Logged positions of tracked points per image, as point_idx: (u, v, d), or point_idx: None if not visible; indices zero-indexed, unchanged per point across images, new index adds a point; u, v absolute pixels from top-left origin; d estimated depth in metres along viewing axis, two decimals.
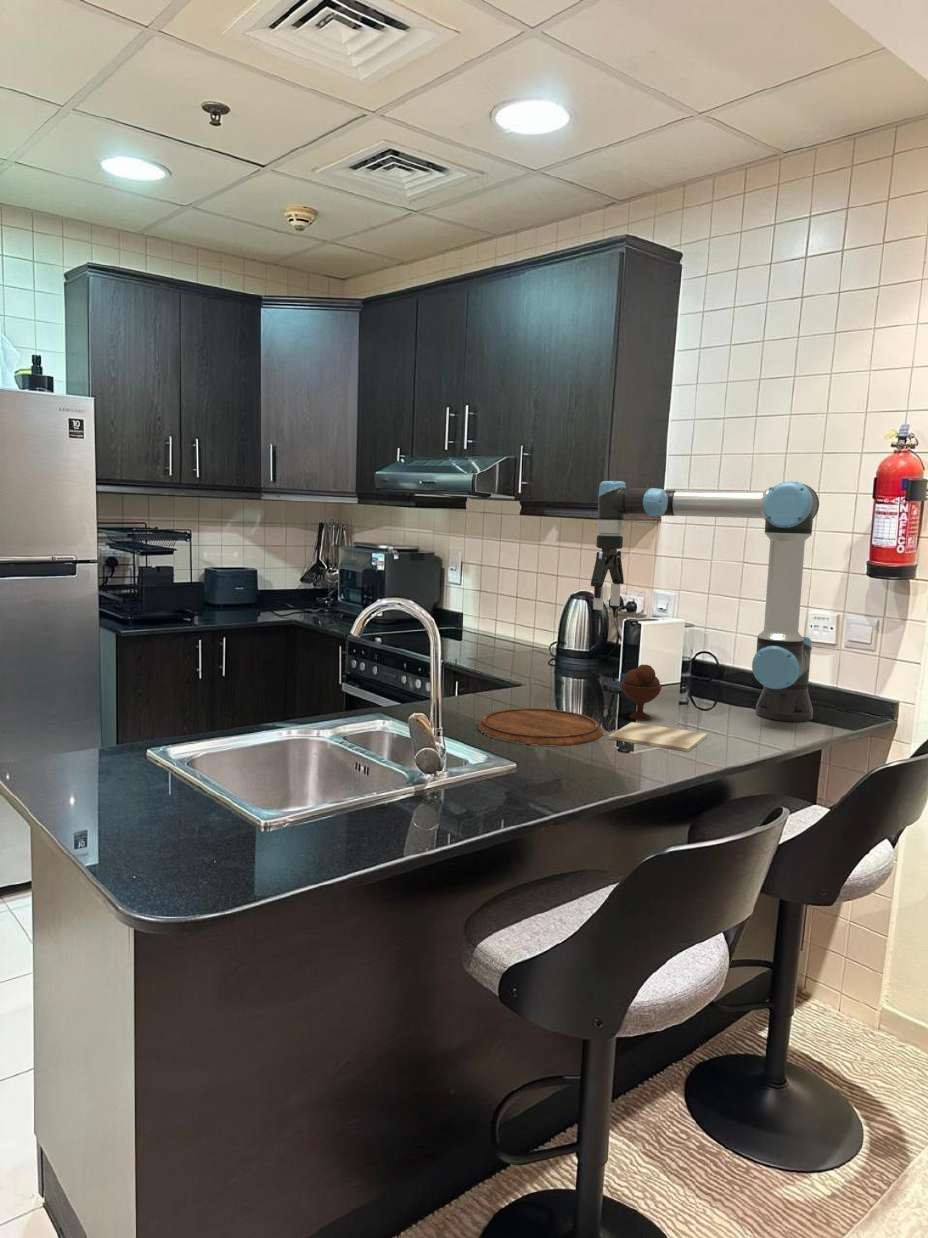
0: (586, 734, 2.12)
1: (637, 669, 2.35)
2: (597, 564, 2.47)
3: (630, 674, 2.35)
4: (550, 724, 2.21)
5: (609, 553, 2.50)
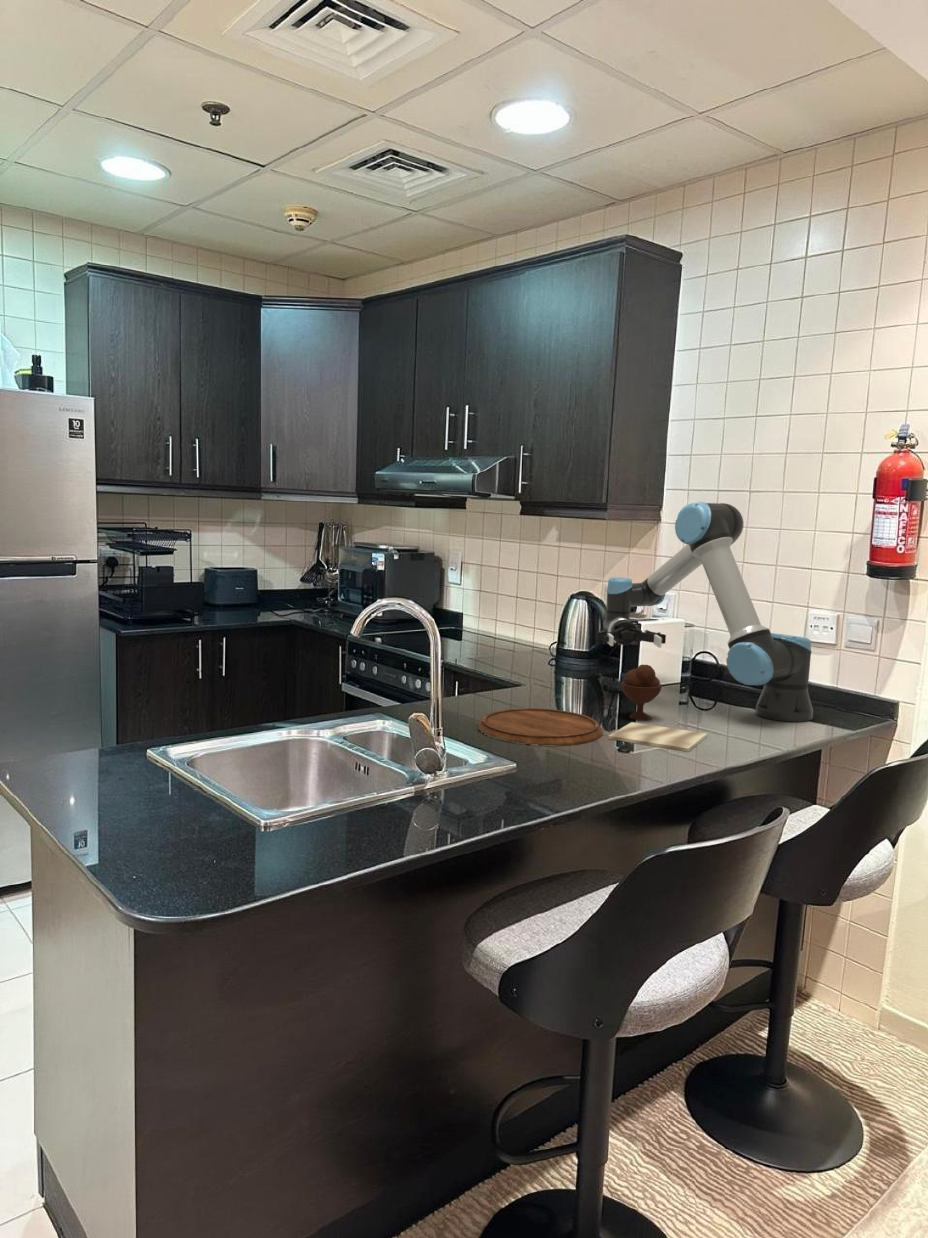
0: (586, 734, 2.12)
1: (637, 669, 2.35)
2: None
3: (630, 674, 2.35)
4: (550, 724, 2.21)
5: None
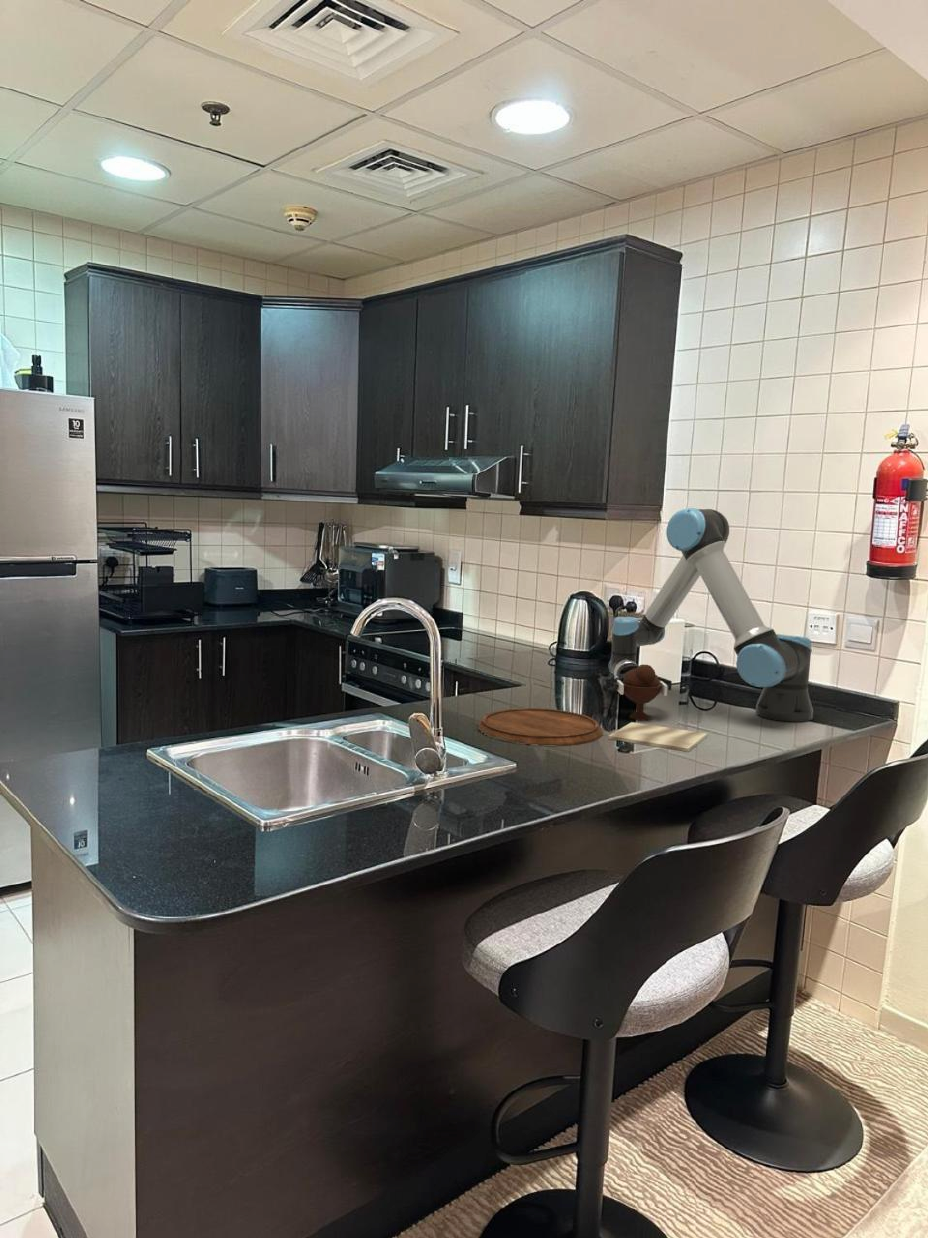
0: (586, 734, 2.12)
1: (637, 669, 2.35)
2: None
3: (630, 674, 2.35)
4: (550, 724, 2.21)
5: None
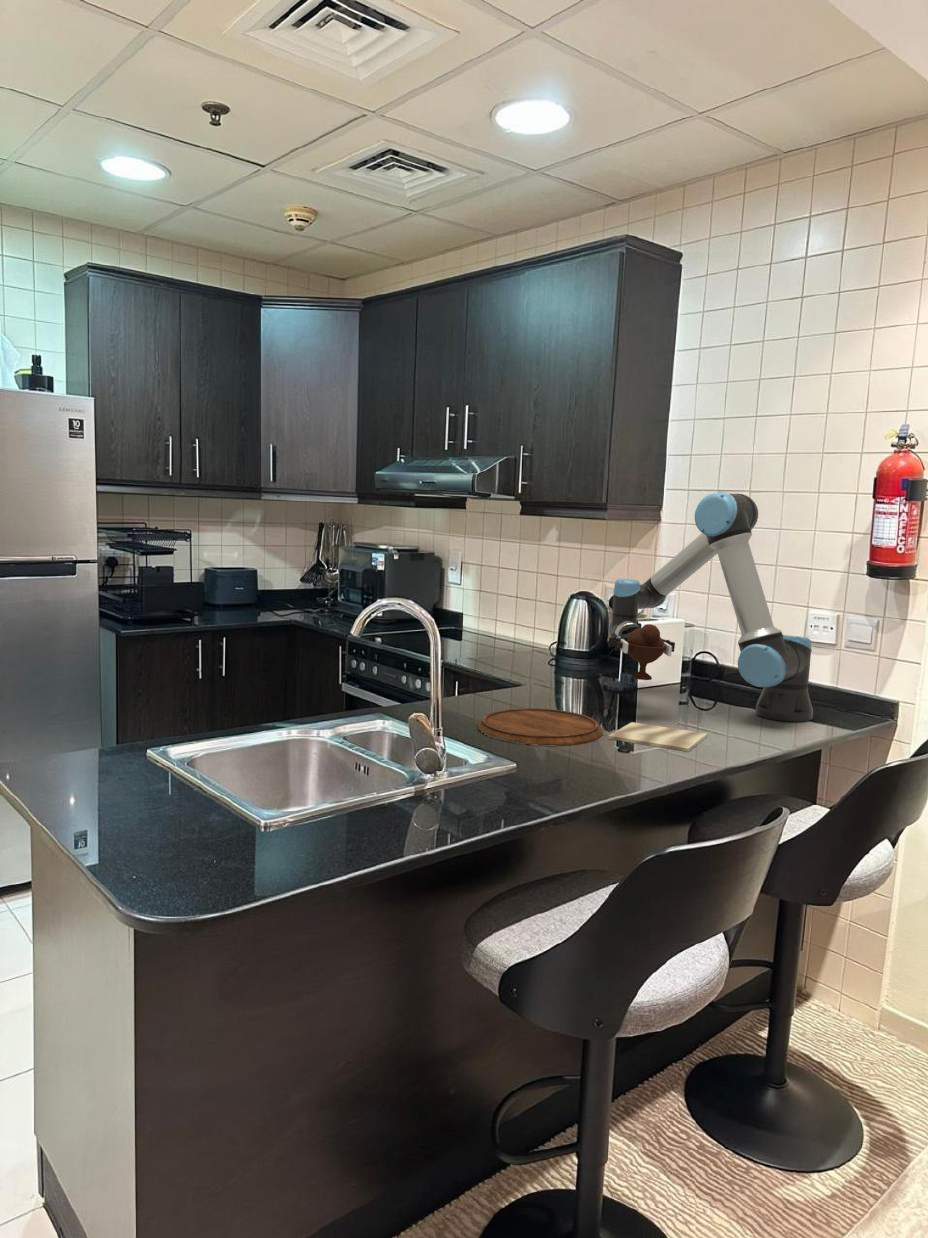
0: (586, 734, 2.12)
1: (642, 628, 2.33)
2: None
3: (635, 633, 2.33)
4: (550, 724, 2.21)
5: (625, 634, 2.48)
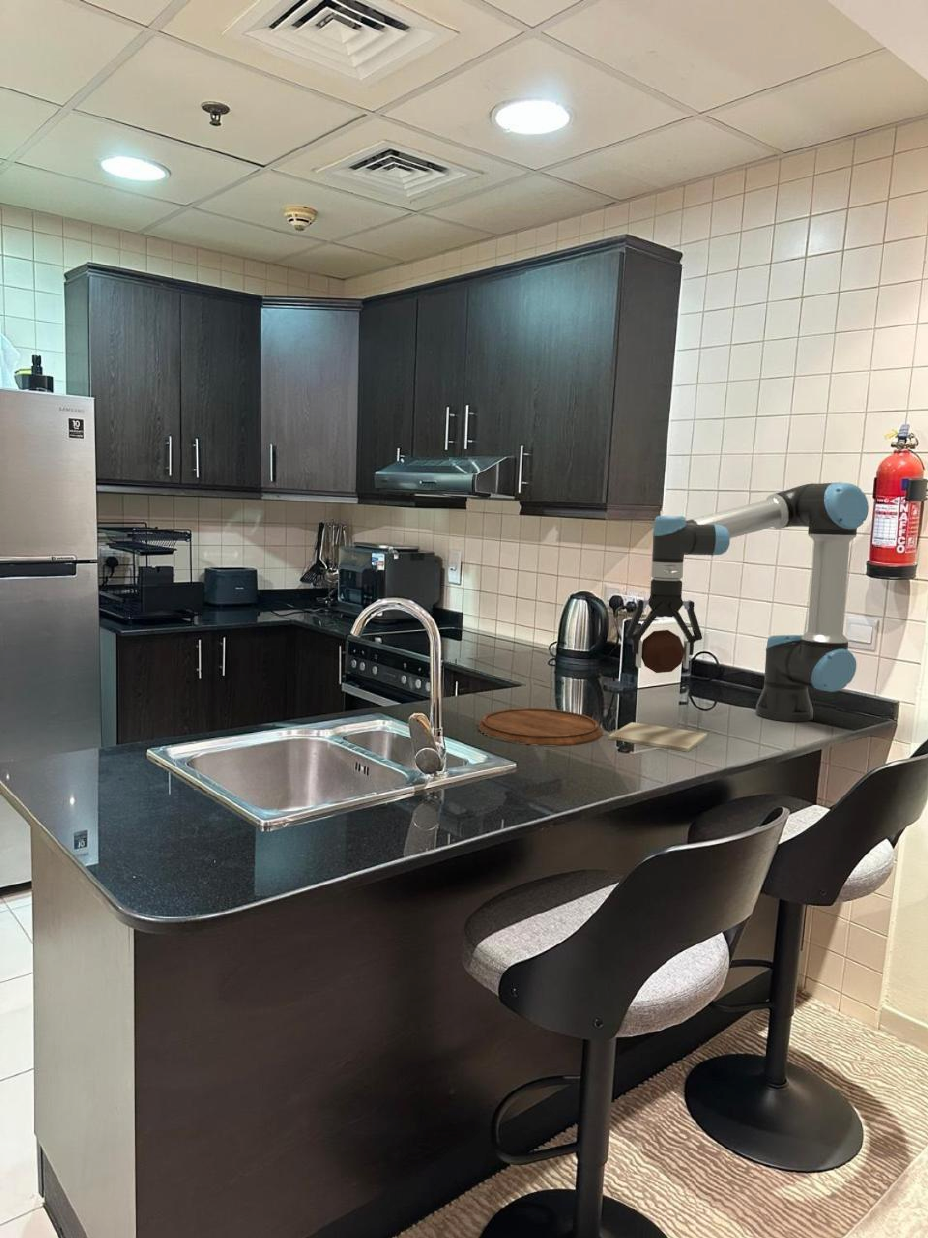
0: (586, 734, 2.12)
1: None
2: None
3: None
4: (550, 724, 2.21)
5: None
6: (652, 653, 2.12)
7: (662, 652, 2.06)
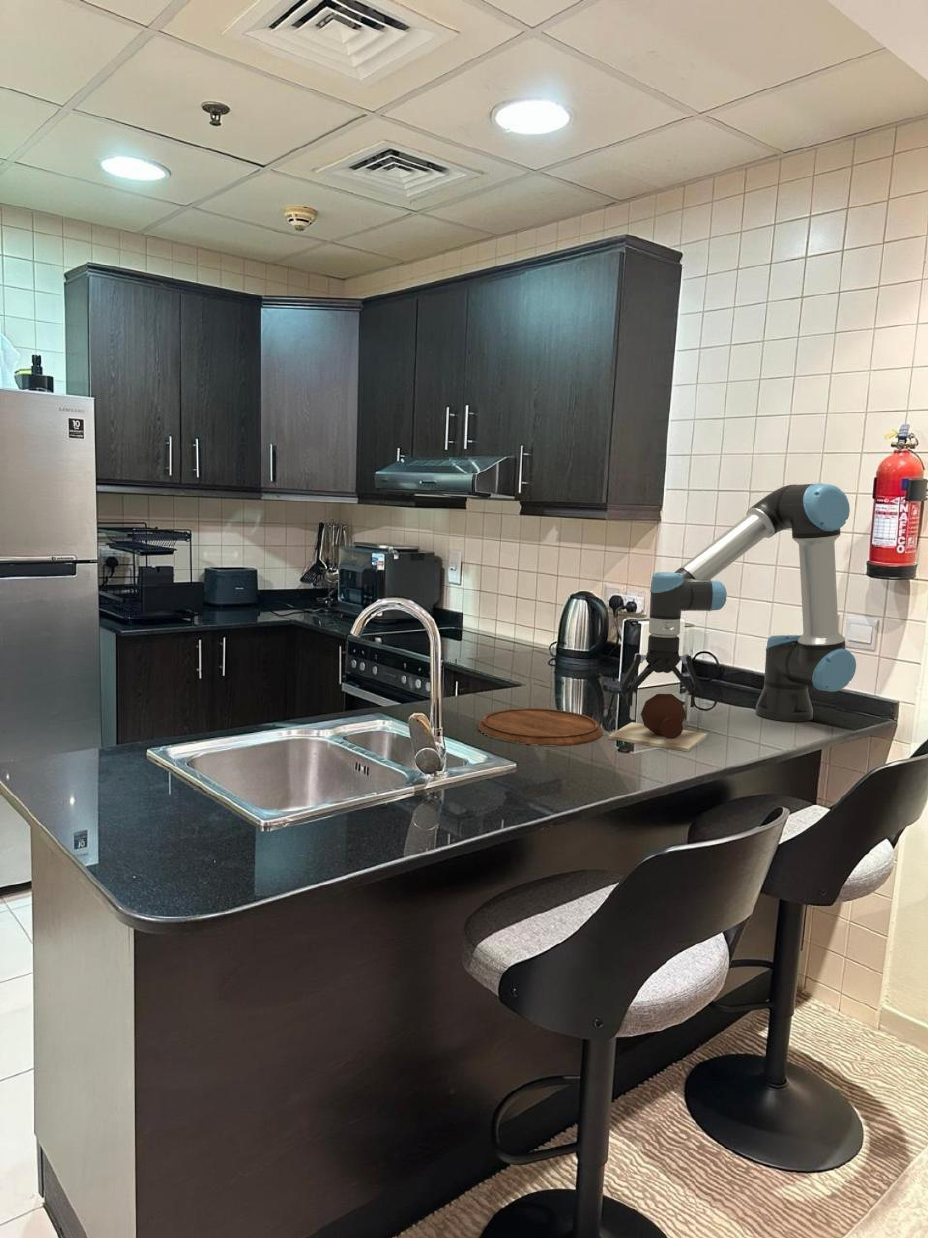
0: (586, 734, 2.12)
1: None
2: (693, 669, 2.15)
3: None
4: (550, 724, 2.21)
5: None
6: (653, 717, 2.13)
7: (664, 722, 2.07)
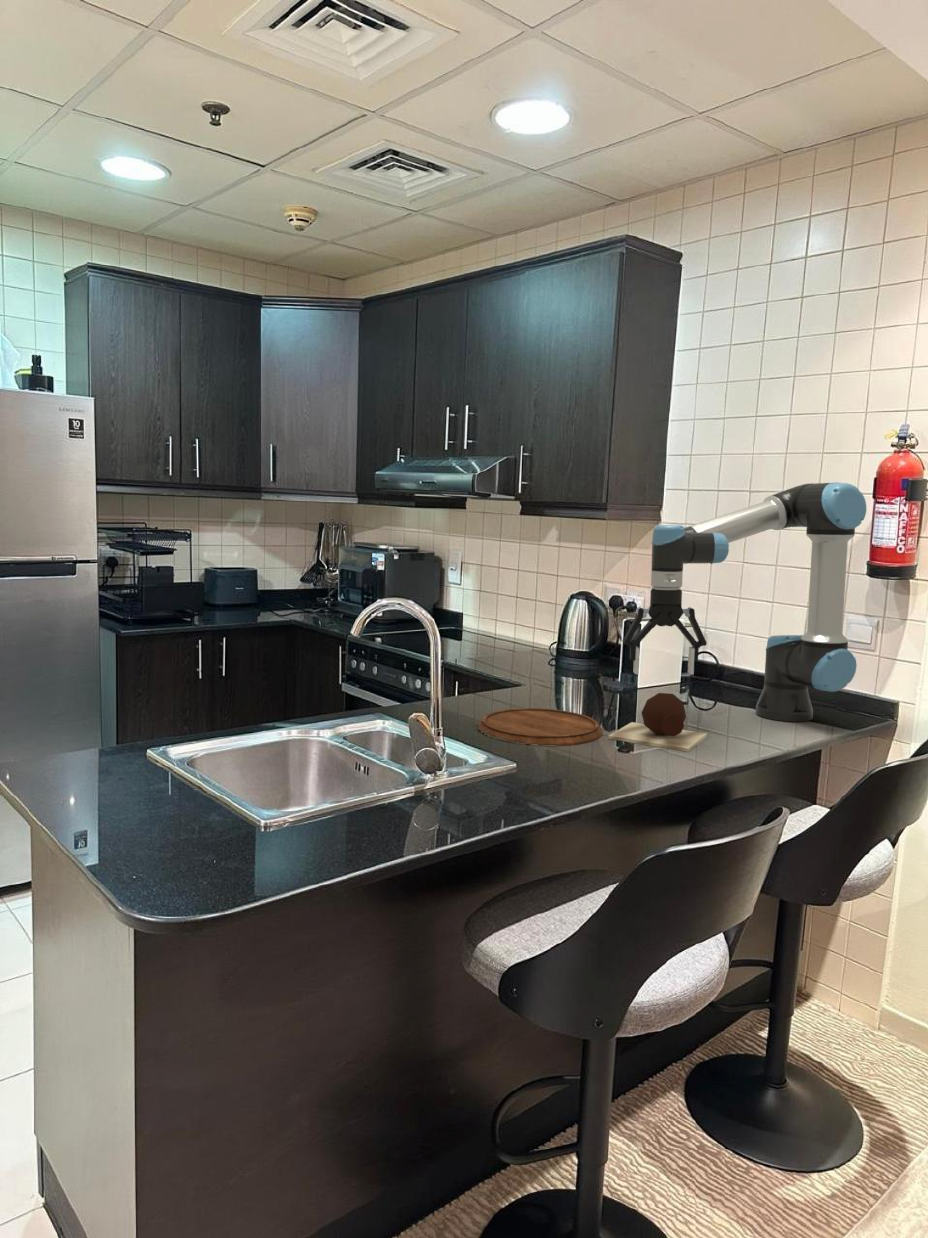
0: (586, 734, 2.12)
1: None
2: (696, 622, 2.13)
3: None
4: (550, 724, 2.21)
5: None
6: (654, 715, 2.13)
7: (665, 719, 2.08)
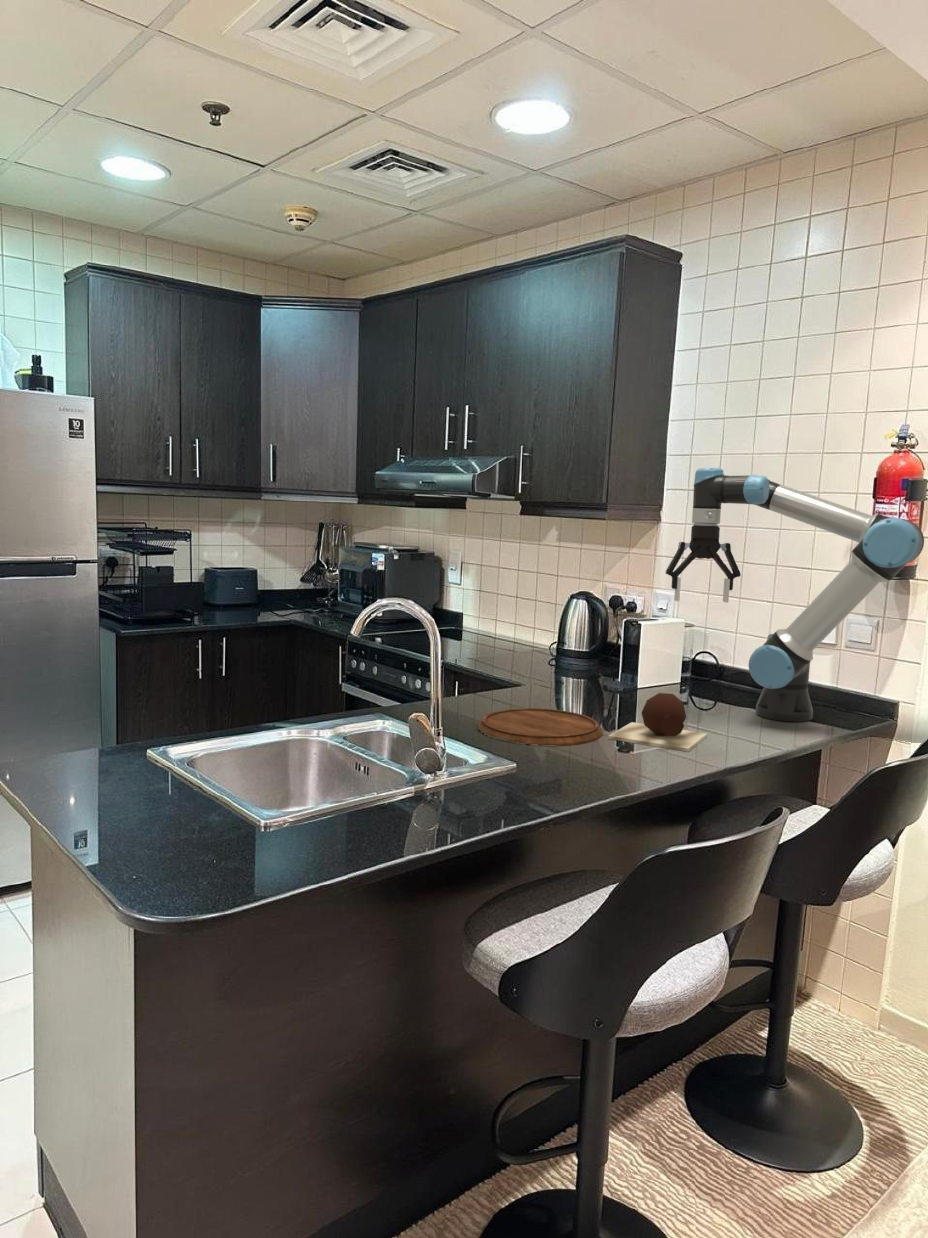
0: (586, 734, 2.12)
1: None
2: None
3: None
4: (550, 724, 2.21)
5: None
6: (654, 715, 2.13)
7: (665, 719, 2.08)
